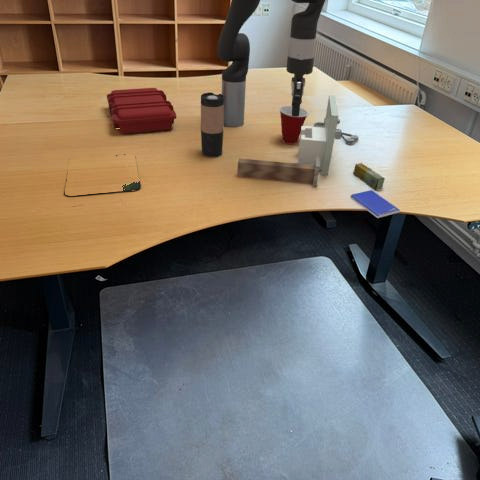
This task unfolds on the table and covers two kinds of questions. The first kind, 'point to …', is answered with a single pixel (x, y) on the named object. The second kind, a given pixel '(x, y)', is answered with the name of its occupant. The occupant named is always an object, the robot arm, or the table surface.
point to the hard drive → (374, 203)
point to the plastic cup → (291, 124)
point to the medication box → (369, 176)
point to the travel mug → (212, 124)
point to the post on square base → (279, 170)
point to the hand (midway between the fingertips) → (295, 111)
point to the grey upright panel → (319, 139)
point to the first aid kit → (140, 110)
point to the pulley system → (340, 133)
